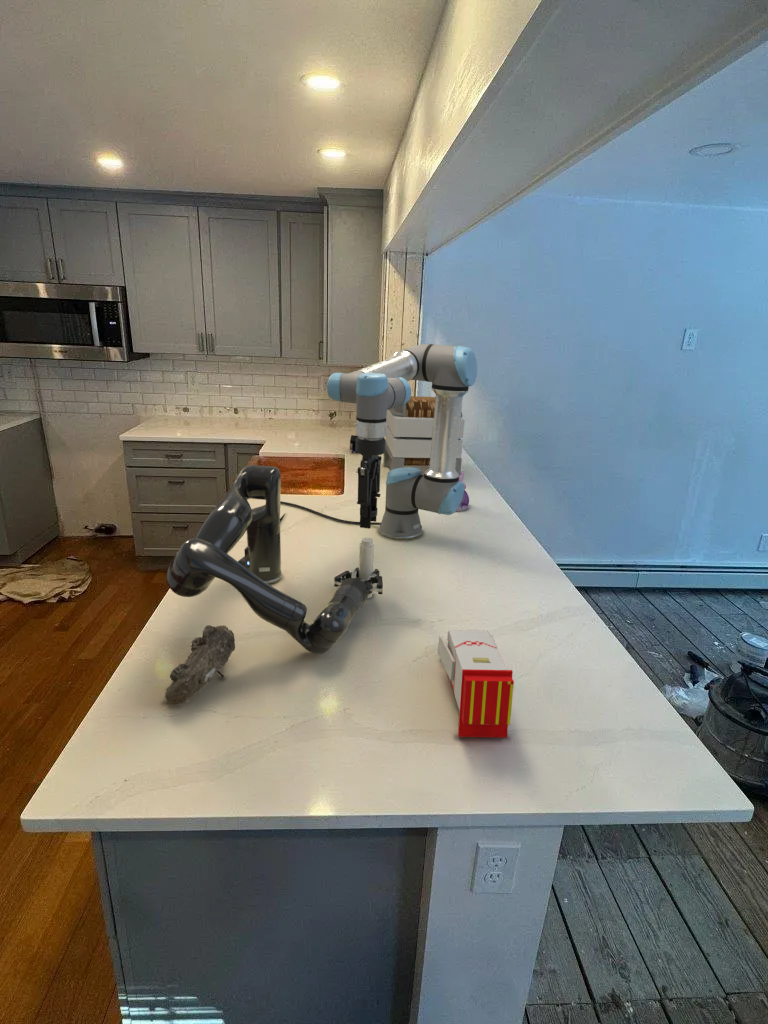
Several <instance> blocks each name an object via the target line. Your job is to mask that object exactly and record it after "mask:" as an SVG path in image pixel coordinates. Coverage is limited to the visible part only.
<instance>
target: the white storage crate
mask: <svg viewBox="0 0 768 1024" xmlns="http://www.w3.org/2000/svg"><path fill="white" fill-rule="evenodd" d="M435 398H436V396H415V395H414V396H413V395H411V397H410V399H409V401H408V402H407V403H406V404H404V405H402V406H400V407H398V408H392V409H388V410H387V415H386V436H385V437H384V438H385V440H386V444H385V453H384V454H383V466H384V467H388V468H389V472H390V471H391V470H393V469H397V468H405V466H406V467H409V466H411V467H417V466H418V467H429V465H430V454H431V443H432V432H433V420H434V409H435ZM464 429H465V419H464V418H463V411H461V419H460V429H459V438H458V448H457V457H456V467H455V470H456V472H457V473H458V474H459V475H460V474H461V472H462V461H463V460H462V453H463V442H464V441H463V440H462V439H463V438H464V431H465V430H464Z"/></svg>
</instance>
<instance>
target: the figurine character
mask: <svg viewBox="0 0 768 1024" xmlns="http://www.w3.org/2000/svg"><path fill="white" fill-rule="evenodd" d="M357 437H358V436H357V435H356V434H355V435H353V434H351V435H350V440H349V451H351V454H353V453H357V452H356V450H355V448H356V438H357Z"/></svg>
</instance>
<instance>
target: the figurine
mask: <svg viewBox="0 0 768 1024" xmlns="http://www.w3.org/2000/svg"><path fill="white" fill-rule="evenodd" d="M464 478H465V471H464V470H461V474H460V475H459V481H460V482H462V483H463V484H464V494H463V498H462V501H461V503H460V505H459V507H458V509H457V510H456V511H455V512H461V511H465V510H467V509H468V508H469V505H470V497H469V494H468V492H467V491H466V489H467V485H466V482H465V479H464Z"/></svg>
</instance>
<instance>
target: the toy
mask: <svg viewBox="0 0 768 1024" xmlns="http://www.w3.org/2000/svg"><path fill="white" fill-rule="evenodd" d="M446 640H447V643H446V641H445V639H444V636H443V635H442V634H439V637H438V646H437V656H438V657H439V659H440V661H441V663H442V666H443V668H444V670H445V672H446V674H447V677H448V679H449V681H450V684H451V687H452V690H453V693H454V697H455V701H456V705H457V708H458V711H459V714H458V715H459V716H458V730H457V731H458V732H457V737H458V738H508V731H509V726H510V725H511V717H512V707H513V697H514V696H513V695H514V684H515V680H514V679H513V673H514V671H513V670H512V669H508V667H507V665H506V662H505V661H504V659H503V658H502V655H501V653H500V651H499V649H498V647H497V643H496V639H495V637H494V635H493V634H491V632H490V631H489V629H467V628H466V629H465V628H463V629H461V628H460V629H459V628H448V630H447V639H446Z"/></svg>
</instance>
